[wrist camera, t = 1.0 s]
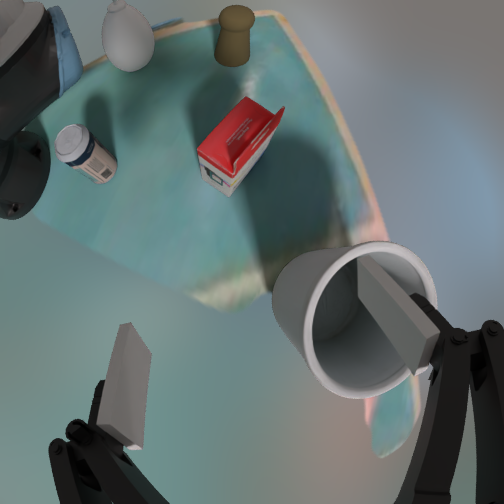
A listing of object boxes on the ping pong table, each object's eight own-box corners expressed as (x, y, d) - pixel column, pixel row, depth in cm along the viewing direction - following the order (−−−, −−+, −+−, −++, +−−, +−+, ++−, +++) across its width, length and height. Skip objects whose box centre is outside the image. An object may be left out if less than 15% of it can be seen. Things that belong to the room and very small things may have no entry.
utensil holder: (286, 363, 39) (330, 425, 22) (249, 270, 39) (277, 280, 21) (370, 321, 41) (446, 351, 23) (342, 232, 40) (417, 218, 23)
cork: (242, 71, 39) (250, 27, 28) (208, 61, 38) (209, 17, 27) (254, 49, 39) (265, 6, 28) (222, 40, 39) (226, -4, 28)
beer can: (119, 152, 36) (88, 117, 24) (117, 182, 36) (83, 155, 24) (91, 156, 36) (55, 125, 24) (88, 186, 36) (48, 162, 24)
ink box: (237, 135, 39) (249, 78, 24) (264, 154, 39) (289, 105, 25) (200, 179, 38) (193, 136, 23) (228, 200, 38) (236, 166, 24)
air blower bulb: (166, 66, 37) (151, -12, 20) (125, 89, 36) (90, 17, 19) (148, 43, 37) (131, -29, 19) (109, 64, 36) (78, -3, 18)
